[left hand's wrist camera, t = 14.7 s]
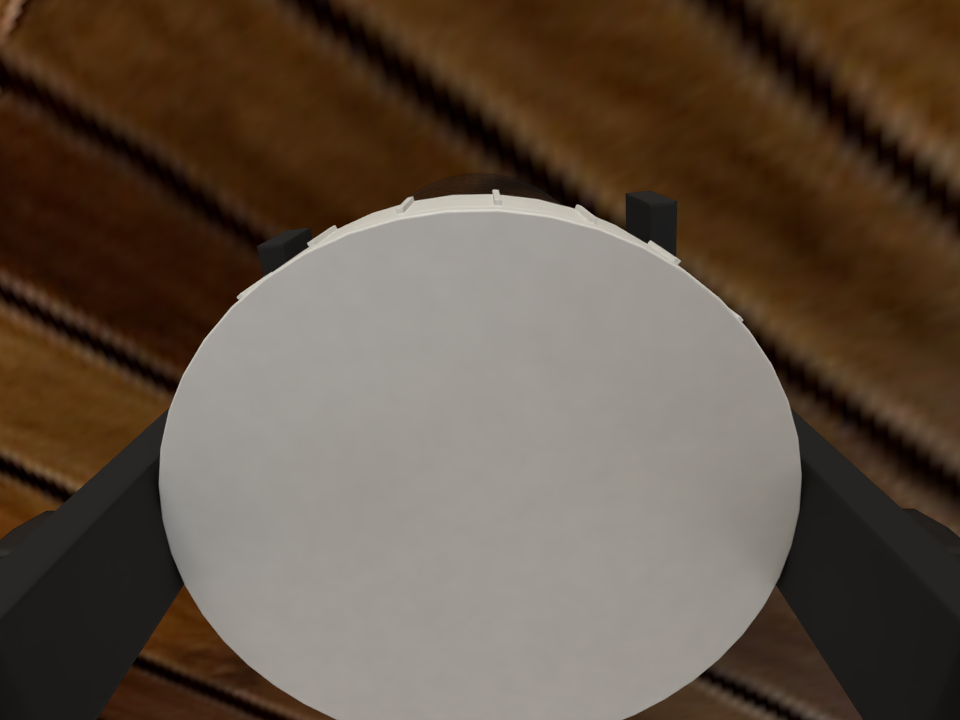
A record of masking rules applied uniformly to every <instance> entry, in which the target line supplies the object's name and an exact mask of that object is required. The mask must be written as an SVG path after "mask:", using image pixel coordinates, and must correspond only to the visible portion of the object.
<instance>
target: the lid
mask: <svg viewBox="0 0 960 720" xmlns="http://www.w3.org/2000/svg"><path fill="white" fill-rule="evenodd" d="M307 244H308V246H309V247H308V248H307V249H305V250H304V251H302V252H301V253H299V254H298V255H297V256H295V257H294V258H292V259H291V260H289V261H288V262H287V263H285V264H284V265H282V266H281V267H279V268H278V269H276V270H275V271H274V272H271V273H269V274H268V275H266V276H265V277H263V278H262V279H261V280H259V281H258V282H256V283H255V284H253V285H252V286H250V287H249V288H248V289H246V290H245V291H243V292H242V293H240V294H239V295H238V296H237V298H238V299H239V301H238V302H237V303H235V304H234V305H233V306H232V307H231V308H230V309H229V311H228V312H227V313H226V314H225V315H224V316H223V318H222V319H221V320H220V321H219V322H218V324H217V325H216V326H215V327H214V328H213V330H212V331H211V332H210V333H209V334H208V336H207V337H206V338H205V339H204V341H203V342H202V344H201V346H200V347H199V349H198V351H197V352H196V354H195V356H194V357H193V359H192V361H191V362H190V364H189V366H188V367H187V369H186V371H185V372H184V374H183V376H182V379H181V381H180V384H179V386H178V389H177V391H176V394H175V396H174V399H173V401H172V404H171V406H170V409H169V412H168V417H167V421H166V426H165V430H164V435H163V439H162V444H161V451H160V469H159V492H160V502H161V511H162V520H163V524H164V528H165V532H166V535H167V539H168V543H169V547H170V550H171V554H172V556H173V559H174V561H175V563H176V566H177V568H178V570H179V573H180V575H181V577H182V580H183V582H184V584H185V586H186V588H187V589H188V591H189V593H190V594H191V596H192V598H193V599H194V601H195V603H196V604H197V606H198V608H199V609H200V611H201V613H202V614H203V616H204V617H205V618H206V619H207V621H208V622H209V623H210V624H211V626H212V627H213V628H214V629H215V631H216V632H217V633H218V634H219V636H220V637H221V638H222V639H223V641H224V642H225V643H226V644H227V645H228V646H229V647H230V648H231V649H232V650H233V651H234V652H235V653H236V654H238V655H239V656H240V657H241V658H242V659H243V660H244V661H245V662H246V663H247V664H248V665H249V666H250V667H251V668H253V669H254V670H255V671H257V672H258V673H259V674H260V675H262V676H263V677H264V678H266V679H267V680H268V681H269V682H271V683H272V684H273V685H275V686H276V687H278V688H279V689H281V690H283V691H284V692H286V693H287V694H289V695H291V696H292V697H294V698H295V699H297V700H299V701H300V702H302V703H304V704H306V705H308V706H310V707H312V708H314V709H316V710H318V711H320V712H322V713H324V714H326V715H328V716H330V717H332V718H334V719H337V720H623V719H626V718H628V717H631V716H633V715H635V714H637V713H639V712H641V711H643V710H645V709H647V708H649V707H651V706H653V705H655V704H657V703H659V702H660V701H662V700H664V699H666V698H667V697H669V696H671V695H672V694H674V693H675V692H677V691H678V690H680V689H681V688H683V687H684V686H686V685H687V684H689V683H690V682H692V681H693V680H694V679H696V678H697V677H698V676H699V675H700V674H702V673H703V672H704V671H705V670H707V669H708V668H709V667H710V666H711V665H713V664H714V663H715V662H716V661H717V660H719V659H720V658H721V657H722V656H723V655H724V653H725V652H726V651H727V650H728V649H729V648H730V647H731V646H732V645H733V644H734V643H735V642H736V641H737V640H738V639H739V638H740V637H741V636H742V635H743V633H744V632H745V631H746V629H747V628H748V627H749V625H750V624H751V623H752V621H753V620H754V619H755V617H756V616H757V614H758V613H759V612H760V610H761V609H762V608H763V606H764V604H765V603H766V601H767V599H768V597H769V595H770V594H771V592H772V590H773V588H774V586H775V585H776V583H777V581H778V579H779V577H780V575H781V572H782V570H783V567H784V564H785V562H786V559H787V557H788V554H789V551H790V549H791V546H792V542H793V538H794V533H795V529H796V525H797V520H798V515H799V511H800V495H801V479H802V473H801V462H800V452H799V442H798V436H797V432H796V428H795V424H794V421H793V417H792V413H791V409H790V406H789V402H788V399H787V397H786V395H785V393H784V390H783V388H782V386H781V384H780V382H779V379H778V377H777V375H776V373H775V371H774V368H773V366H772V364H771V363H770V361H769V360H768V358H767V357H766V355H765V354H764V352H763V351H762V349H761V348H760V346H759V345H758V343H757V342H756V340H755V339H754V337H753V335H752V334H751V332H750V331H749V330H748V329H747V328H746V326H745V325H744V324H743V323H742V321H743V319H742V318H741V317H740V316H739V315H738V314H736V313H735V312H733V311H732V310H731V309H729V308H728V307H727V306H726V305H725V303H724V302H723V301H722V300H721V299H720V298H719V297H717V296H716V295H715V294H714V293H712V292H711V291H710V290H709V289H708V288H706V287H705V286H704V285H703V284H701V283H700V282H699V281H698V280H696V279H695V278H694V277H693V276H691V275H690V274H689V273H688V272H686V271H685V270H684V269H682V268H681V267H680V266H678V264H679V263H680V262H681V260H679V259H678V258H676V257H675V256H673V255H672V254H670V253H669V252H667V251H666V250H664V249H663V248H661V247H660V246H658V245H657V244H655V243H654V242H652V241H651V240H650V241H649V242H648V244H646V243H645V242H643V241H641V240H640V239H638V238H636V237H635V236H633V235H631V234H629V233H628V232H626V231H624V230H623V229H621V228H619V227H618V226H616V225H614V224H611V223H609V222H607V221H604V220H602V219H599V218H597V217H595V216H594V215H592V214H591V213H590V212H589V211H587V210H586V209H585V208H583V207H582V206H580V205H576V207H575V209H574V208H570V207H566V206H562V205H558V204H554V203H550V202H547V201H543V200H539V199H532V198H524V197H515V196H507V195H500V193H499V190H492V194H477V195H450V196H443V197H437V198H430V199H424V200H418V201H414V198H413V197H408V198H407V199H406V200H405V201H404V202H403V203H402V204H401V205H398V206H395V207H391V208H388V209H385V210H381V211H378V212H375V213H372V214H369V215H367V216H365V217H363V218H361V219H359V220H356V221H354V222H352V223H350V224H348V225H345V226H343V227H341V228H339V229H337V228H336V226H335V225H334V226H332V227H331V228H329V229H327V230H326V231H325V232H323V233H322V234H320V235H319V236H317V237H316V238H314V239H313V240H311V241H310V242H308V243H307Z"/></svg>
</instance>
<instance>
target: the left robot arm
mask: <svg viewBox="0 0 960 720" xmlns="http://www.w3.org/2000/svg"><path fill="white" fill-rule="evenodd" d="M169 409H170V408H169ZM169 409H168V410H166V411H165V412H164V413H163V414H162V415H161V416H160V417H159V418H158V419H157V420H155V421H154V422H153V423H152V424H151V425H150V426H149V427H148V428H147V429H145V430H144V431H143V432H142V433H141V434H140V435H139V436H138V437H137V438H136V439H134V440H133V441H132V442H131V443H130V444H129V445H128V446H127V447H126V448H125V449H123V450H122V451H121V452H120V453H119V454H118V455H117V456H116V457H115V458H114V459H112V460H111V461H110V462H109V463H108V464H107V465H106V466H105V467H104V468H102V469H101V470H100V471H99V472H98V473H97V474H96V475H95V476H94V477H93V478H91V479H90V480H89V481H88V482H87V483H86V484H85V485H84V486H83V487H82V488H80V489H79V490H78V491H77V492H76V493H75V494H74V495H73V496H72V497H70V498H69V499H68V500H67V501H66V502H65V503H64V504H63V505H62V506H61V507H59V508H58V509H57V510H56V511H45V512H43V513H41V514H40V515H38V516H36V517H34V518H33V519H31V520H29V521H27V522H25V523H24V524H22V525H20V526H18V527H16V528H15V529H13V530H12V531H10V532H9V533H8V534H7V535H6V536H5V537H3V538H2V539H1V540H0V720H97V718H98V717H99V715H100V714H101V712H102V710H103V709H104V707H105V706H106V704H107V703H108V701H109V700H110V698H111V697H112V695H113V693H114V692H115V690H116V689H117V687H118V686H119V684H120V683H121V681H122V679H123V678H124V676H125V675H126V673H127V672H128V670H129V669H130V667H131V666H132V664H133V662H134V661H135V659H136V658H137V656H138V655H139V653H140V652H141V650H142V649H143V647H144V645H145V644H146V642H147V641H148V639H149V638H150V636H151V635H152V633H153V631H154V630H155V628H156V627H157V625H158V624H159V622H160V621H161V619H162V618H163V616H164V614H165V613H166V611H167V610H168V608H169V607H170V605H171V604H172V602H173V601H174V599H175V597H176V596H177V594H178V593H179V591H180V590H181V588H182V587H183V585H184V582H183V580H182V577H181V575H180V573H179V570H178V568H177V566H176V563H175V561H174V559H173V556H172V554H171V550H170V547H169V543H168V539H167V535H166V532H165V528H164V524H163V520H162V511H161V502H160V492H159V469H160V451H161V444H162V439H163V435H164V430H165V426H166V421H167V417H168V412H169ZM790 409H791V408H790ZM791 413H792V417H793V421H794V424H795V428H796V432H797V436H798V442H799V452H800V462H801V473H802V479H801V495H800V511H799V515H798V520H797V525H796V529H795V533H794V538H793V542H792V546H791V549H790V551H789V554H788V557H787V559H786V562H785V564H784V567H783V570H782V572H781V575H780V577H779V579H778V581H777V583H776V585H777V587H778V589H779V590H780V592H781V593H782V595H783V596H784V598H785V599H786V601H787V602H788V604H789V606H790V607H791V609H792V610H793V612H794V613H795V615H796V616H797V618H798V619H799V621H800V623H801V624H802V626H803V627H804V629H805V630H806V632H807V633H808V635H809V637H810V638H811V640H812V641H813V643H814V644H815V646H816V647H817V649H818V650H819V652H820V654H821V655H822V657H823V658H824V660H825V661H826V663H827V664H828V666H829V667H830V669H831V671H832V672H833V674H834V675H835V677H836V678H837V680H838V681H839V683H840V684H841V686H842V688H843V689H844V691H845V692H846V694H847V695H848V697H849V698H850V700H851V702H852V703H853V705H854V706H855V708H856V709H857V711H858V712H859V714H860V715H861V717H862V719H863V720H960V537H958V536H957V535H956V534H955V533H954V532H953V531H951V530H950V529H949V528H948V527H946V526H944V525H942V524H941V523H939V522H937V521H935V520H933V519H932V518H930V517H928V516H926V515H924V514H923V513H921V512H919V511H917V510H915V509H901V508H900V507H899V506H898V505H897V504H896V503H895V502H894V501H893V500H891V499H890V498H889V497H888V496H887V495H886V494H885V493H884V492H883V491H882V490H880V489H879V488H878V487H877V486H876V485H875V484H874V483H873V482H872V481H871V480H869V479H868V478H867V477H866V476H865V475H864V474H863V473H862V472H861V471H859V470H858V469H857V468H856V467H855V466H854V465H853V464H852V463H851V462H850V461H848V460H847V459H846V458H845V457H844V456H843V455H842V454H841V453H840V452H839V451H837V450H836V449H835V448H834V447H833V446H832V445H831V444H830V443H829V442H827V441H826V440H825V439H824V438H823V437H822V436H821V435H820V434H819V433H818V432H816V431H815V430H814V429H813V428H812V427H811V426H810V425H809V424H808V423H807V422H805V421H804V420H803V419H802V418H801V417H800V416H799V415H798V414H797V413H796V412H794V411H793V410H792V409H791Z"/></svg>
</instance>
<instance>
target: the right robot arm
mask: <svg viewBox="0 0 960 720" xmlns="http://www.w3.org/2000/svg"><path fill="white" fill-rule="evenodd" d="M676 228H677V201H676V200H673V199H670V198H668V197H665V196H662V195H660V194H657V193H654V192H652V191H644V192H634V193H626V232H628V233H629V234H631V235H633V236H635V237H636V238H638V239H640V240H641V241H643V242H645V243H646V244H648V242H649V241H650V240H651V241H652V242H654V243H655V244H657V245H658V246H660V247H661V248H663V249H664V250H666V251H667V252H669V253H670V254H672V255H673V256H675V257H676ZM311 240H312V235H311V230H310V228H304V229H295V230H287V231H285V232H283V233H281V234H279V235H277V236H275V237H274V238H272V239H270V240H268V241H266V242H264V243H262V244H260V245H259V246H257V249H258V253H259V257H260V261H261V265H262V269H263V273H264V277H265V276H266V275H268V274H269V273H271V272H274V271H275V270H276V269H278V268H279V267H281V266H282V265H284V264H285V263H287V262H288V261H289V260H291V259H292V258H294V257H295V256H297V255H298V254H299V253H301V252H302V251H304V250H305V249H307V248H308V247H309V246H308V244H307V243H308V242H310V241H311Z"/></svg>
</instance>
